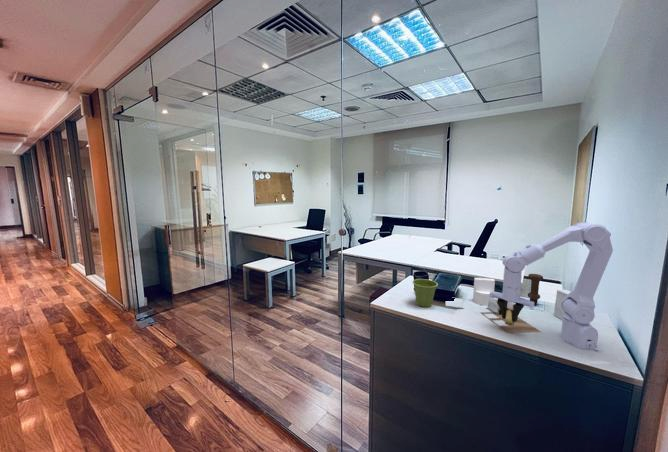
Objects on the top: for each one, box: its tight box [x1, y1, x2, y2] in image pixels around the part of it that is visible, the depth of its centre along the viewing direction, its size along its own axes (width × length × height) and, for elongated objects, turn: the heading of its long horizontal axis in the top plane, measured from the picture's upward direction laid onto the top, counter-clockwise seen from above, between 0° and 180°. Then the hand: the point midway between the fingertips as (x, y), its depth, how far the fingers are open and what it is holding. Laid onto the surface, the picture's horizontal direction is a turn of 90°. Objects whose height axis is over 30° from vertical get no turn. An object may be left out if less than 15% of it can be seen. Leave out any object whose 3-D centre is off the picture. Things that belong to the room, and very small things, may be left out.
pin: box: [504, 308, 514, 326], centre depth 104 cm, size 3×3×6 cm
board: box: [480, 307, 542, 334], centre depth 115 cm, size 23×15×3 cm, turn 2°
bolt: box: [527, 273, 544, 306], centre depth 131 cm, size 6×5×15 cm
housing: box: [487, 298, 515, 314], centre depth 122 cm, size 7×8×4 cm
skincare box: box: [553, 289, 571, 321], centre depth 117 cm, size 6×4×12 cm
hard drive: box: [444, 297, 465, 310], centre depth 133 cm, size 2×8×12 cm
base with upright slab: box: [472, 277, 496, 307], centre depth 135 cm, size 9×9×12 cm
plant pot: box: [412, 278, 439, 308], centre depth 132 cm, size 12×12×11 cm
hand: (509, 319), depth 105 cm, fingers closed on pin, 3 cm apart
